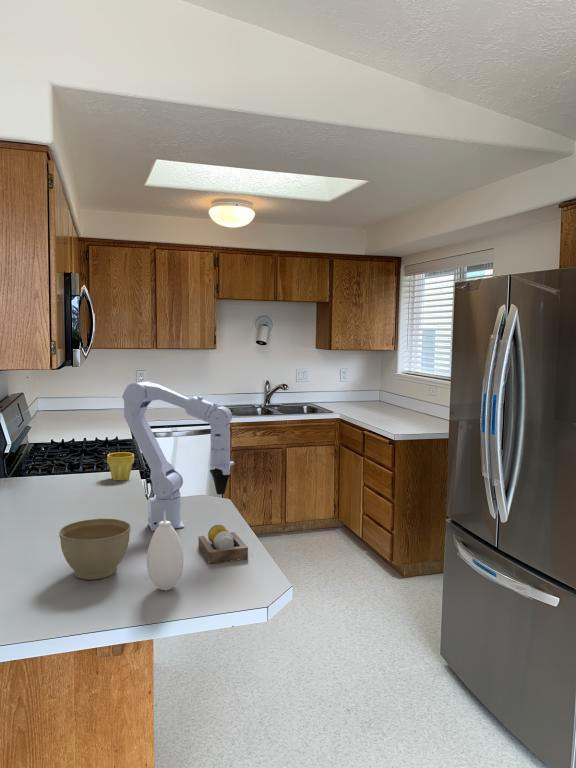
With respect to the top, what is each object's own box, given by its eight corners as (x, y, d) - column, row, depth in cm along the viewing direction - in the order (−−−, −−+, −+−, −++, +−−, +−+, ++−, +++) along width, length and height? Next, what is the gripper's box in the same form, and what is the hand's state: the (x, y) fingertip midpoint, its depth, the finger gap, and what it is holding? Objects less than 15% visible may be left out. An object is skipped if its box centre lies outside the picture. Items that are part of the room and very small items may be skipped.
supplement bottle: (230, 532, 161) (240, 544, 152) (216, 547, 160) (226, 559, 151) (217, 519, 159) (227, 530, 150) (203, 534, 158) (212, 546, 149)
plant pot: (140, 477, 232) (139, 453, 232) (119, 483, 224) (119, 458, 223) (122, 474, 238) (121, 450, 237) (101, 479, 229) (101, 455, 228)
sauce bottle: (166, 599, 125) (165, 517, 124) (140, 591, 129) (138, 511, 128) (190, 586, 132) (189, 508, 130) (165, 578, 136) (164, 503, 134)
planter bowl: (132, 582, 134) (131, 536, 133) (57, 590, 129) (55, 542, 128) (130, 556, 149) (129, 515, 148) (63, 563, 145) (62, 520, 144)
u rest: (209, 564, 145) (209, 552, 144) (198, 547, 156) (198, 536, 156) (247, 558, 148) (247, 547, 148) (234, 542, 160) (234, 531, 160)
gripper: (240, 451, 164) (240, 498, 166) (227, 442, 178) (227, 486, 179) (216, 453, 162) (216, 501, 163) (204, 444, 175) (204, 488, 177)
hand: (220, 493), depth 171 cm, fingers closed
